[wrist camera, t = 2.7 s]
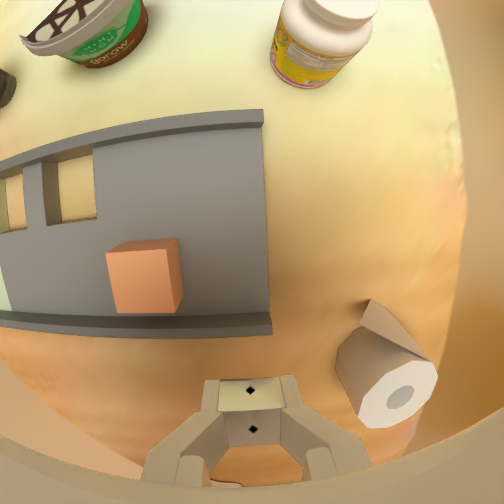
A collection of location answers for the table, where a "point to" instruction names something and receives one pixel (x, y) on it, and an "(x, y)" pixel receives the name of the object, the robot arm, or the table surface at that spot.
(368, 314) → the toilet tissue
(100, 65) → the food container
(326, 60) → the supplement bottle
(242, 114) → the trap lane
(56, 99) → the table surface
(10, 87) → the beverage cup
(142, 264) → the terracotta block
